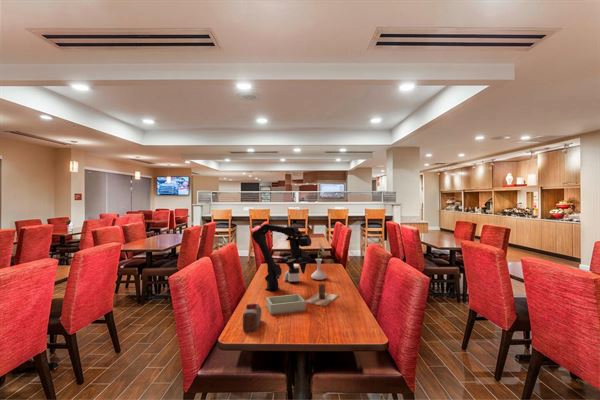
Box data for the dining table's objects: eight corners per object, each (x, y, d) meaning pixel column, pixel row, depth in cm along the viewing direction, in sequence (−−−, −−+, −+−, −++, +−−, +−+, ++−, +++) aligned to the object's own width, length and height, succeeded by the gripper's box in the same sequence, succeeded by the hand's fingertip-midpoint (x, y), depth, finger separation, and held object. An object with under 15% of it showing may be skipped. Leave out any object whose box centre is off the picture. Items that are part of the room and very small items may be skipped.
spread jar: (299, 284, 205) (299, 266, 205) (282, 284, 205) (282, 266, 205) (300, 279, 217) (299, 262, 217) (283, 279, 217) (283, 262, 217)
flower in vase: (326, 281, 211) (325, 245, 211) (309, 280, 214) (309, 244, 213) (328, 276, 224) (328, 242, 224) (312, 275, 227) (312, 241, 226)
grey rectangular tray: (266, 306, 164) (266, 297, 164) (298, 303, 169) (298, 294, 169) (270, 315, 153) (270, 305, 153) (305, 310, 158) (305, 301, 158)
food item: (245, 319, 147) (245, 299, 147) (262, 319, 148) (261, 298, 148) (241, 332, 134) (241, 310, 134) (260, 331, 134) (259, 309, 134)
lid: (304, 303, 171) (304, 287, 171) (319, 293, 187) (319, 279, 187) (325, 307, 164) (325, 290, 164) (338, 297, 181) (338, 282, 180)
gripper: (315, 244, 184) (318, 270, 184) (294, 245, 198) (298, 269, 197) (301, 247, 177) (305, 275, 176) (281, 248, 191) (284, 273, 190)
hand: (298, 273), depth 185 cm, fingers open, 9 cm apart
